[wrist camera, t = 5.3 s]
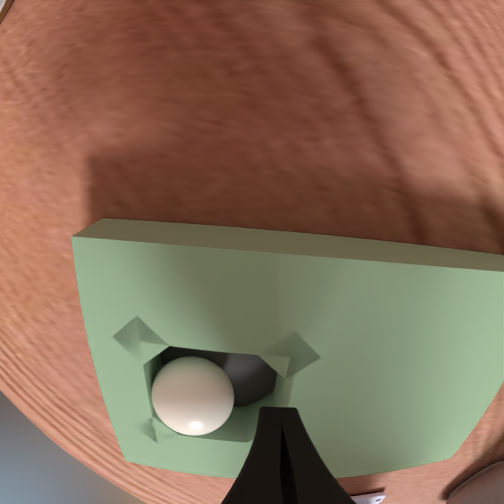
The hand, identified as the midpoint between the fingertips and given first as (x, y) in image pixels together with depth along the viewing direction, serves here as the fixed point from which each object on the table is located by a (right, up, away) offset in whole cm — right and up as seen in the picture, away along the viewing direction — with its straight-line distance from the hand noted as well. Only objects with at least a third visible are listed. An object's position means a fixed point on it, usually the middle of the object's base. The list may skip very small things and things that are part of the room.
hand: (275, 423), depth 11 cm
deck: (+3, +1, +3) cm, 4 cm away
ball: (-3, 0, +1) cm, 4 cm away
